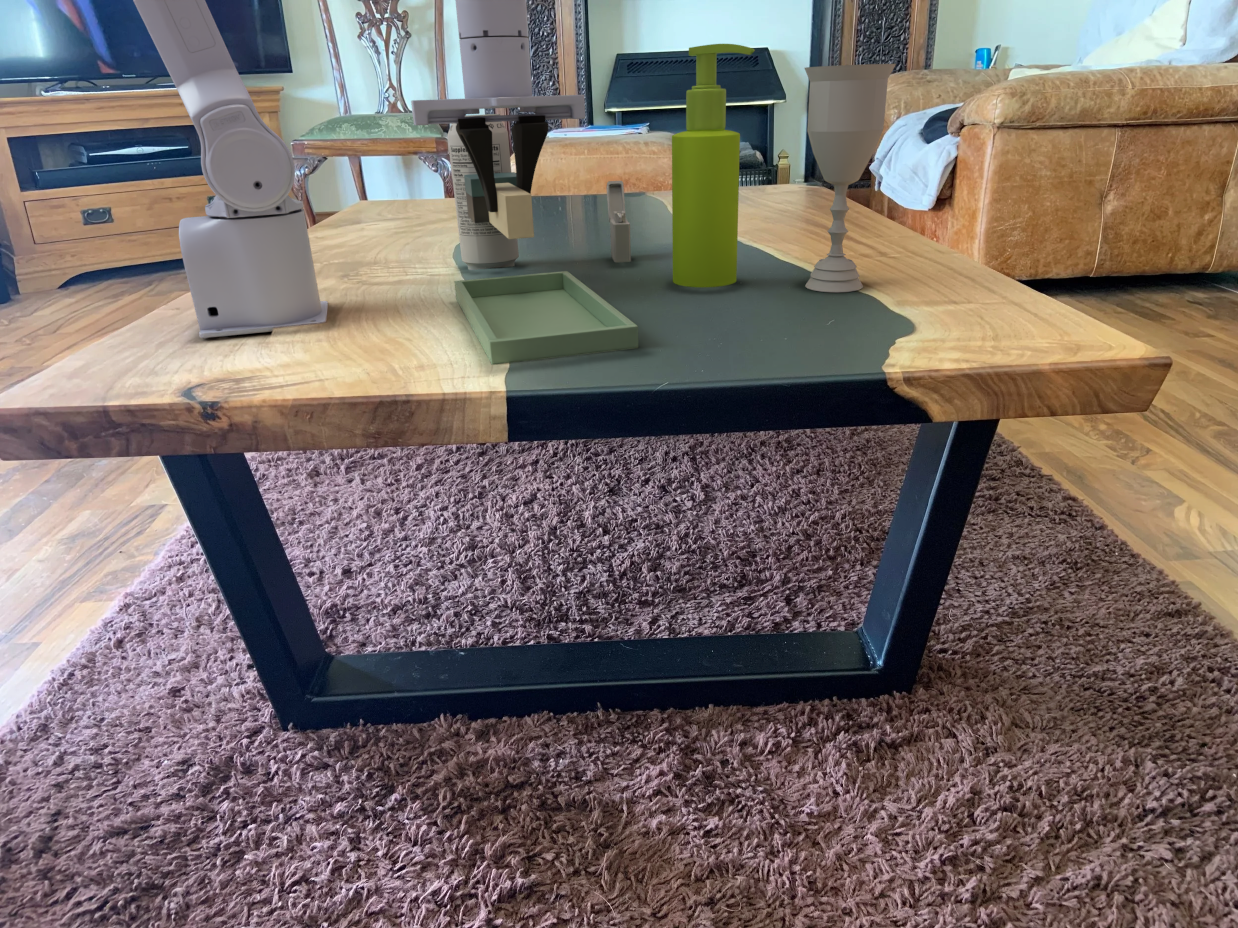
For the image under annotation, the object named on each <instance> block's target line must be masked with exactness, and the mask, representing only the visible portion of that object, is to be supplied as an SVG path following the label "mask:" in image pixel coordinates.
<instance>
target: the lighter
mask: <svg viewBox="0 0 1238 928" xmlns="http://www.w3.org/2000/svg"><path fill="white" fill-rule="evenodd" d="M606 201H607V214H608V223H609V231H610V233H609V235H610V257H611V259H612V260H613V262H614V263H630V262H632V257H631V256H632V251H631V250H632V247H631V246H632V245H631V222H629V221H628V219H627V215H626V202H625V201H626V200H625V188H624V181H623V180H608V181H607V182H606Z"/></svg>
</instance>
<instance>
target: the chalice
mask: <svg viewBox="0 0 1238 928" xmlns="http://www.w3.org/2000/svg"><path fill="white" fill-rule="evenodd" d="M896 65H897V63H870V64H866V63H865V64H845V65H844V64H843V65H842V64H841V65H823V66H808V67H807V66H806V67H804V68H803V69H804V71H805V73H806V75H807V78H808V80H809V94H808V112H807V113H808V114H807V135H808V139H809V143H810V146H811V150H812V154H813V157H814V159H815V161H816V163H817V165H818V166H817V167H818V168H819V171H820V174H821V175H822V178H823V181H825V182H827V183H828V184H830V185H833V189H834V190H833V191H834V198H833V202H832V205H831V207H830V208H829V210H830V213H831V214H832V223H831V226H830V228H828V230H827V233H828V234H829V235H830V241H831V243H830V244H831V245H830V250H829V253H826V257H824V258H821V259H819V260H818V261H817V262H816V263H815V264H814V265H813V267H814V268H813V270H812V272H810V275H809V279H808V280H807V282H806V284H805V286H804V287H805V288H807V289H808V290H811V291H817V292H822V293H823V292H824V293H849V292H855V291H860V290H861V289H863V288H864V285H863V284H862V282H861V280H860V274H859V272H858V270H857V267H858V266H857V265H856V263H855V262H854V260H853V259H850V258H847V257H846V253H844V250H843V243H844V240H845V235H846V234H847V233H848V232H849V229H848V228H847V227H846V223H845V218H846V216H847V213H848V211H850V207H849V206H848V203H847V192H848V188H849V185H852V184H854V183H856V182H858V181H859V180H860V178H861V176H862V175H863V174H864V171H865V169H866V168H867V166H868V164H869V162H870V160H871V158H872V157H873V155H874V153H875V151H876V149H877V146H878V144H879V142H880V139H881V136H882V134H883V131H884V126H885V116H886V104H887V93H888V82H889V81H888V80H889V78H890V76H891V74H892V72H893V70H894V69H895V67H896Z"/></svg>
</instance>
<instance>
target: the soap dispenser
mask: <svg viewBox="0 0 1238 928" xmlns="http://www.w3.org/2000/svg"><path fill="white" fill-rule="evenodd" d="M754 52H756V49H754V48H753V47H749V46H745V45H742V44H734V43H713V44H705V45H704V44H703V45H696V46H692V47H688V56H690V57H696V58H695V64H696V65H695V85H692V86H691V89H687V90H686V93H685V129H686V130H683V131H680V132H677V133H675V134H673V135H671V204H672V205H671V214H672V215H671V218H672V223H671V225H672V230H671V231H672V232H671V233H672V235H671V236H672V283H673V284H674V285H678V286H682V287H687V288H719V287H726V286H730V285H733V284H735V283H736V282H737V279H738V277H737V275H738V274H737V273H738V237H739V236H738V234H739V233H738V232H739V231H738V230H739V197H740V196H739V195H740V194H739V191H740V190H739V189H740V151H741V147H740V146H741V133H739V132H738V131H735V130H730V129H726V128H727V127H726V124H727V121H726V120H727V116H726V115H727V89H726V88H722V87H721V85H720V84H717V59H718V57H717V55H718V54H729V53H733V54H743V55H748V56H751V55H753V53H754Z"/></svg>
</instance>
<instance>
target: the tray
mask: <svg viewBox="0 0 1238 928" xmlns="http://www.w3.org/2000/svg"><path fill="white" fill-rule="evenodd" d="M453 282H454V291H455V292H454V293H455V299H456V301H457V303H458V305H459V307H460V308H461V310H462V313H463V314H464V316H465V318H466V320H467V322H468V324H469V325H470V327H471V329H472V330H473V332H474V334H475V336H476V338H477V340H478V341H479V344H480V345H481V347H482V349H483V351H484V353H485V355H486V356H487V359H488V360H489V362H490V364H491V365H492V366H494V365H501V364H503V365H504V364H511V363H520V362H527V361H529V362H530V361H537V360H538V361H539V360H546V359H555V358H556V359H557V358H564V357H571V356H581V355H588V354H589V355H590V354H599V353H607V352H615V351H616V352H617V351H624V350H633V349H634V350H635V349H639V326H638V325H637V324H636V323H635V322H633V321H632V320H631V319H629V317H627V316H626V315H624V314H623V313H621V311H619V310H618V309H616V308H615V307H614V306H613V305H611V304H610V303H609V302H608V301H606V300H605V299H603V297H601V295H599V294H597V293H596V292H595V291H594V290H592V289H591V288H590V287H588V286H587V285H586V284H584V283H583V282H581V280H580V279H578V278H577V277H575V276H574V275H573V274H571V273H570V272H569V271H568V270H563V271H554V272H553V271H552V272H551V271H550V272H541V273H540V272H539V273H530V274H518V275H507V276H506V275H505V276H497V277H483V278H472V279H461V280H460V279H459V280H454V281H453Z"/></svg>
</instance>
